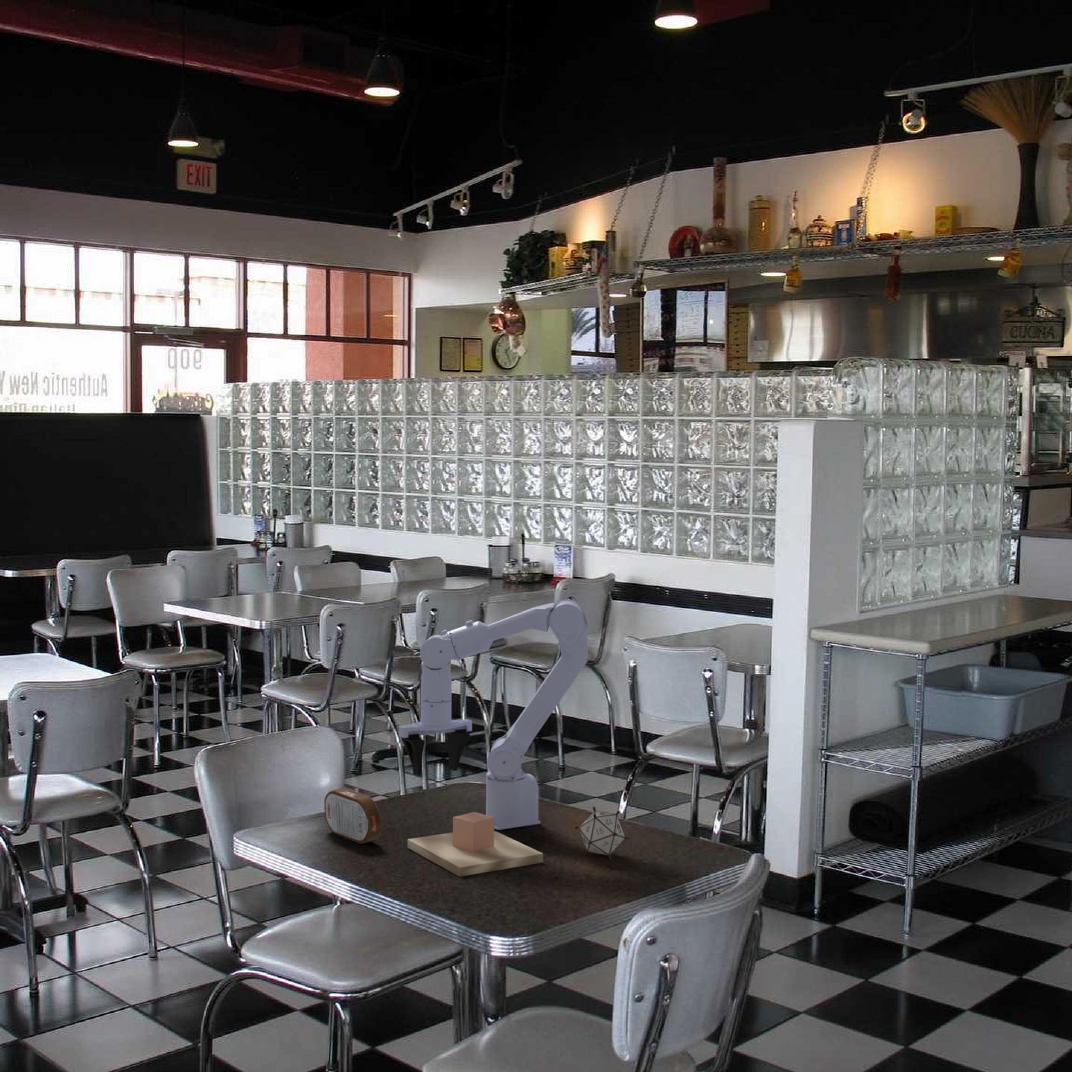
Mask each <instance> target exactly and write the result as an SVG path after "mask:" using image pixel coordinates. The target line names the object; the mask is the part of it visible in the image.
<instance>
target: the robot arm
mask: <svg viewBox="0 0 1072 1072" xmlns="http://www.w3.org/2000/svg"><path fill="white" fill-rule="evenodd" d="M464 623H465V625H463V626H461V627H457V628H454V629H452V630H448V629H444V630H442V631H441V635H440V634H435V635H431V636H430V637H428V638H427V639H426V640H425V641H424V642H423V644H422V645H421V646H420V650H419V658H420V660H421V663H422V665H421V676H420V721H419V722H414V723H410V724H403V725H399V726H398V736H399V737H400V738H401V742H402V743H403V746H404V748H405V749H406V752H407V754H408V757H409V760H410V764H411V768H412V774H414V775H416V776H422V771H423V753H424V748H425V743H426V740H424V739H422V738H421V736H427V735H436V734H444V733H446V738H447V739H446V740H447V746H448V747H447V749H448V761H447V762H448V769H449V770H451V771H453V772H457V771H458V768H459V764H460V761H461V758H462V755H463V751H464V749H465V748H466V745H467V743H468V741H469V740H470V738H471V737H470V736H471V734H470V732H472V731H473V720H471V719H468V718H466V719H465V718H464V719H452V693H453V692H452V690H453V689H452V687H453V686H452V685H453V683H452V679H453V678H452V677H453V676H452V672H451V670H452V666H451V665H452V664H451V663H452V662H451V660H453V661H460V660H464V659H467V658H470V657H472V656H475V655H478V654H481V653H483V652H486V651H488V650H490V648H491V646H492V644H493V642H494V641H498V640H500V639H503V638H507V637H510V636H513V635H516V634H519V633H520V634H521V633H523V632H526V631H530V630H537V631H541V632H545V633H548V631H549V627H550V629H551V631H552V633H553V634H554V636H555V638H556V639H557V641H558V645H559V651H560V653H561V654H560V655H561V656H560V657H559V659H558V660H557V661H556V663H555V664H554V666H553V667H552V669H551V670H550V671H549V673H548V675H547V676H546V677H545V679H544V680H543V682H542V683H541V684H540V685H539V687H538V688H537V691H536V692H534V695H533V696H532V698H531V699H530V700H529V702H528V703H527V704H526V706H525V708H523V711H522V712H521V713H520V715H518V718H517V719H516V720H515V722H514V723H513V724H512V725H511V727H510V728H509V730H508V731H507V732H506V733H505V734H504V735H503V736H501V737H499V738H497V739H496V740H495V741H494V742H493V744H492V746H491V748H490V752H489V754H488V756H487V760H486V761H487V763H486V764H487V768H488V771H487V772H486V777H485V778H486V781H485V782H486V784H485V785H486V786H485V787H486V789H485V790H486V791H485V792H486V793H485V796H486V797H485V798H486V800H485V801H486V802H485V815H487V816H491V817H494V830H497V831H502V830H506V829H507V830H509V829H513V828H520V827H528V826H535V825H539V824H541V820H539V796H540V795H539V793H540V792H539V785H538V782H537V779H536V777H535V776H533V775H532V774H531V773H525V771H524V770H523V769H522V762H523V759H524V755H526V752H527V751H528V750H529V747H530V746H531V744H532V743H533V741H534V739H535V738H536V736H537V735H538V733H539V732H540V730H541V729H542V727H543V726H544V725H545V723H546V722H547V721H548V718H549V717H550V716H551V714H552V713H554V711H555V709H556V708H557V706H558V704H559V703H560V702H561V700H562V699H563V697H564V696H565V695H566V693H567V691H568V690H569V689H570V687H571V686H572V684H573V683H574V681H576V680H575V679H577V677H578V676H579V674H580V673H581V671H582V670H583V668H584V667H585V666H586V664H587V662H588V658H589V657H588V656H589V655H588V654H589V653H588V650H589V649H588V648H589V647H588V645H589V643H588V641H589V639H588V637H589V635H588V630H589V628H588V627H589V626H588V625H589V624H588V621H587V617H586V615H585V612H584V609H583V607H582V606H581V604H579V602H577V601H575V600H574V599H573V600H572V599H562V600H560V601H559V602H557V603H555V602H549V603H546V604H542V605H537V606H534V607H531V608H529V609H526V610H524V611H521V612H518V613H516V614H513V615H511V616H508V617H506V618H503V619H501V620H498V621H495V622H492V623H490V624H486V623H485V622H482V621H480V620H478V621H473V620H472V619H471V620H468V621H467V620H466V621H465V622H464Z"/></svg>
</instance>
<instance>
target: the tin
mask: <svg viewBox="0 0 1072 1072" xmlns="http://www.w3.org/2000/svg"><path fill="white" fill-rule="evenodd" d="M323 804H324V805H323V806H324V808H323V809H324V817H325V821H326V824H327V826H328V828H329V829H330V831H331V832H332V833H333V834H335V835H337V836H340V837H342V838H344V839H347V840H349V841H352V842H355V843H357V844H360V845H361V844H362V845H364V844H367V843H371V842H372V843H373V842H375V841H377V840H378V839H379V838H380V835H381V833H382V832H381V831H382V816H381V812H380V809H379V808H378V807H379V806H378V805H377V802H375V800H374V798H372V797H371V796H369V795H368V794H367V795H366V794H364V793H362V792H358V791H355V790H353V789H350V788H347V787H343V786H342V787H339V788H336V789H333V790H330V791H328V792H327V794H326V795H325V796H324V803H323Z"/></svg>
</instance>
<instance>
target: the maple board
mask: <svg viewBox="0 0 1072 1072" xmlns="http://www.w3.org/2000/svg"><path fill="white" fill-rule="evenodd" d="M407 849H409V850H411V851H413V852H414V853H416V854H418V855H420V856H421V857H423V858H425V859H427V860H429V861H431V862H433V863H434V864H436V865H438V866H440V867H441V868H443V869H445V870H447V871H448V872H451V873H453V874H454V875H455V876H458V877H459V878H460V877H465V876H471V875H472V876H473V875H476V874H484V873H488V872H494V871H501V870H507V869H511V868H517V867H524V866H530V865H535V864H541V863H544V853H543V852H541V851H538V850H537V849H534V848H533V847H530V846H528V845H526V844H523V843H521V842H520V841H517V840H515V839H513V838H511V837H508V836H506V835H505V834H502V833H501V832H498V831H495V830H494V846H492V847H489V848H485V849H482V850H478V851H474V852H472V851H468V850H465V849H461V848H458V847H455V846H453V832H447V833H441V834H433V835H427V836H426V835H425V836H420V837H413V838H408V839H407Z"/></svg>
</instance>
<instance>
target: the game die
mask: <svg viewBox="0 0 1072 1072" xmlns="http://www.w3.org/2000/svg"><path fill="white" fill-rule="evenodd" d="M592 811H593V812H592V813H590V815H589V816H587V817H586V819H585V820H584V821H583V822H582V823H581V824H580V825H579V826H578V825H574V826H573V828H574V829H576V830H578V831H579V834H580V836H581V839H582V842H583V845H584V847H585V851H584V854H583V856H586V855H587V854H588V853H592V854H599V855H605V856H607V857H608V860H610V861H612V854H613V853H614V852H615V850H617V849H618V848H619V846H620V845H621V844H622V842H623V841H625V840H630V839H631V837H630V836H626V834H625V832H624V830H623V827H622V823H621V822H620V819H619V816H618V815H620V814H621V810H617V811H616V813H613V812H612V813H611V812H609V811H608V812H607V811H602V810H601V811H600V810H597V808H596V807H595V806H594V805H593V806H592Z"/></svg>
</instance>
